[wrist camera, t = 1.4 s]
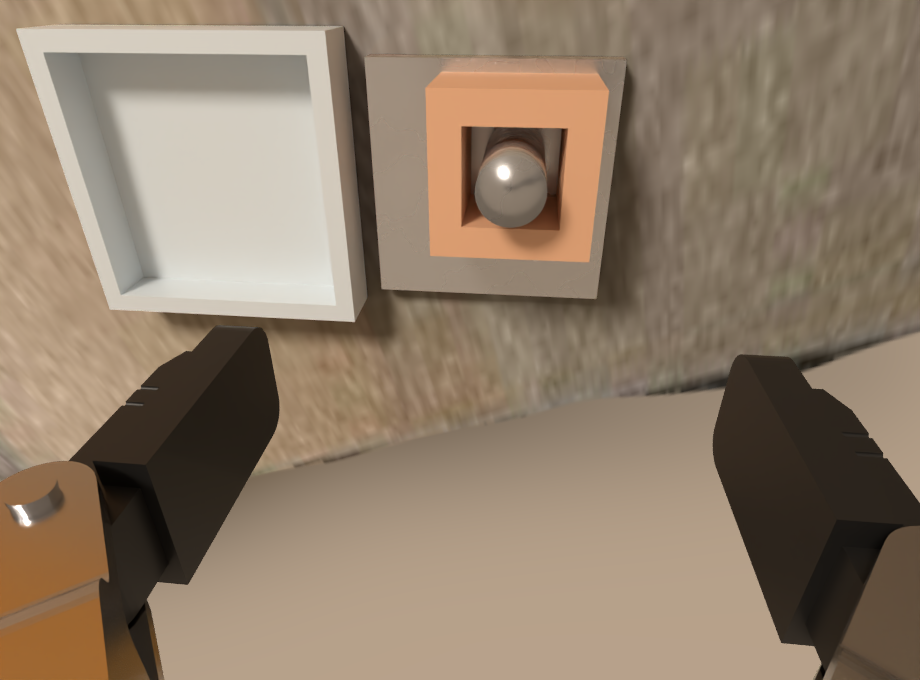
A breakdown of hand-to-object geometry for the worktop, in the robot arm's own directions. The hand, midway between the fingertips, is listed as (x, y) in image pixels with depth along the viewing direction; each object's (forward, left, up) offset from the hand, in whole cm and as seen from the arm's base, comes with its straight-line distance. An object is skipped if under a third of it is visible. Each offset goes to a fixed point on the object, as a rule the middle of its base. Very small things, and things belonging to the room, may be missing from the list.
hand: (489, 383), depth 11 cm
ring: (0, 0, -17) cm, 17 cm away
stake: (+1, +2, -18) cm, 18 cm away
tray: (+13, +2, -18) cm, 22 cm away
